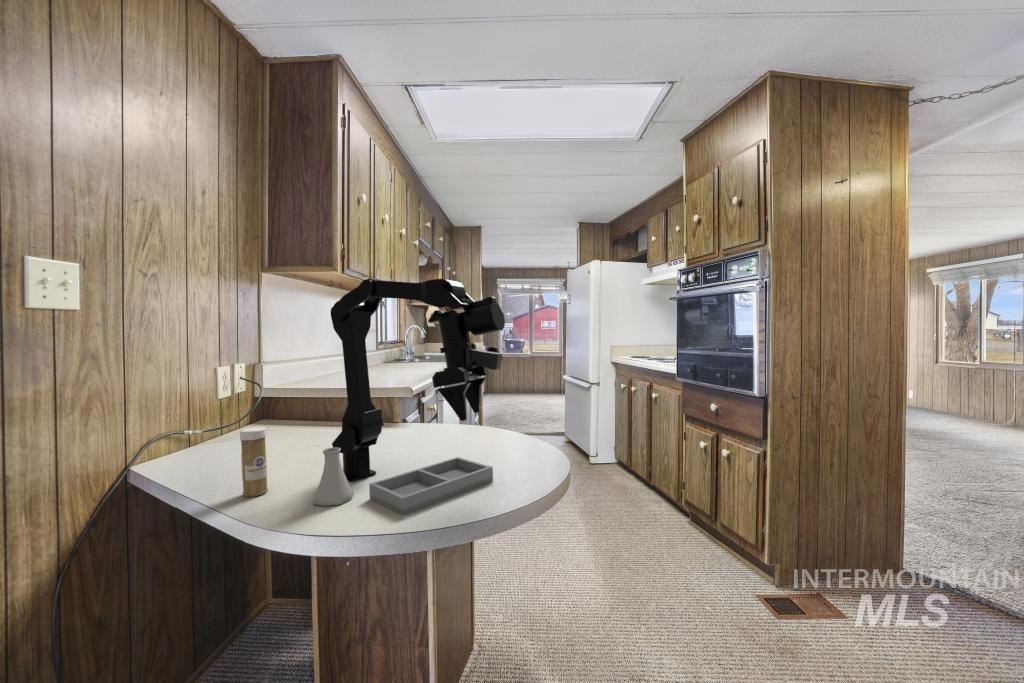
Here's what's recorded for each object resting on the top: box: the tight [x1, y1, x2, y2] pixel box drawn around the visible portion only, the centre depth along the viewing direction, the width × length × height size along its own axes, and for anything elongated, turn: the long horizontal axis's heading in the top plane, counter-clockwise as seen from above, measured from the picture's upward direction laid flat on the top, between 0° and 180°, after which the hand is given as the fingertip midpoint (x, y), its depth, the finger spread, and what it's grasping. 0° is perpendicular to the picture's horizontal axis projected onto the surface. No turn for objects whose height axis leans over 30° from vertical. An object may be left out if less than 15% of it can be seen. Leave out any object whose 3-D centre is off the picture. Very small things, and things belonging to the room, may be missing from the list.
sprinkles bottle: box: [239, 426, 269, 498], centre depth 90 cm, size 5×5×14 cm
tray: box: [368, 456, 494, 516], centre depth 90 cm, size 12×22×3 cm, turn 137°
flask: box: [312, 447, 354, 507], centre depth 85 cm, size 7×7×10 cm
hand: (470, 416), depth 88 cm, fingers open, 9 cm apart
